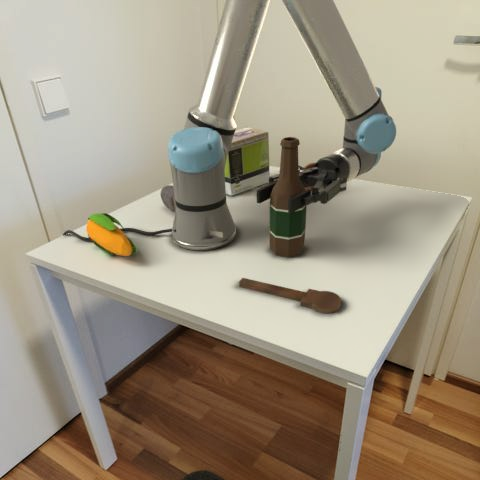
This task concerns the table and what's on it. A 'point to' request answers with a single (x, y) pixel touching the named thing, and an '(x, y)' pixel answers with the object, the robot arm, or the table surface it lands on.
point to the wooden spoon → (298, 295)
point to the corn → (109, 235)
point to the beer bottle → (281, 221)
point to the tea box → (247, 161)
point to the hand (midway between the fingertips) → (273, 201)
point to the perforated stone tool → (168, 197)
